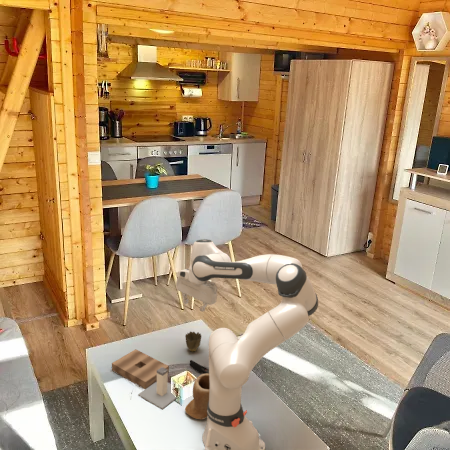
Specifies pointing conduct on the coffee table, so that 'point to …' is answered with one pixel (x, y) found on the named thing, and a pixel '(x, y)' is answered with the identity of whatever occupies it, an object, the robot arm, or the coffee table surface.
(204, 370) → the electric trimmer
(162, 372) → the beige square peg
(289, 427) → the coffee table surface
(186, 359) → the coffee table surface
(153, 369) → the wooden block with hole
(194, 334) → the cup
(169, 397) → the mat
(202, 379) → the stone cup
